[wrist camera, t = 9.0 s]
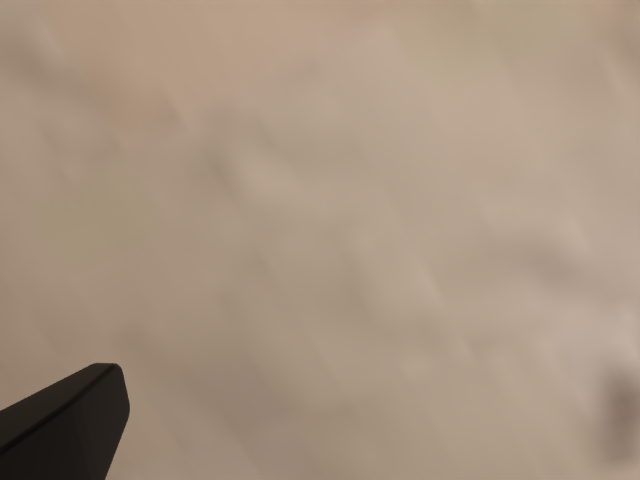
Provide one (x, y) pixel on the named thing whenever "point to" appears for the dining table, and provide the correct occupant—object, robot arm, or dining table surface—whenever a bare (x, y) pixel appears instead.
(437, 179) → the dining table surface
